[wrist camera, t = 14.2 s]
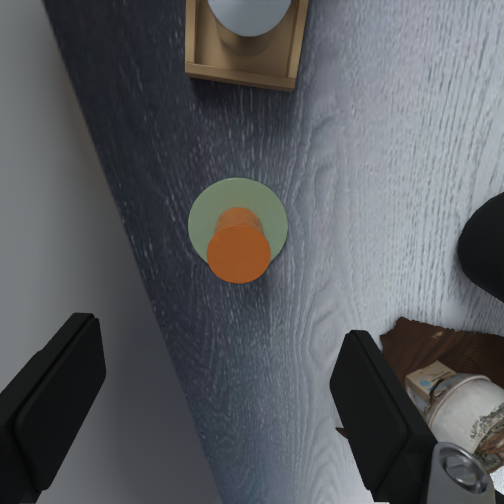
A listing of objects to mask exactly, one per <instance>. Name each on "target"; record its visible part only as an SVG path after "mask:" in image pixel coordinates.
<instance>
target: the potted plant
mask: <svg viewBox="0 0 504 504" xmlns="http://www.w3.org/2000/svg"><path fill="white" fill-rule="evenodd" d="M380 338H381V341H382V343H383V345H384V347H385V348H384V351H383V356H384V357H385V359H386V361H387V362H388V364H389V365H390V367H391V368H392V370H393V372H394V373H395V375H396V376H397V378H398V379H399V381H400V383H401V384H402V386H403V387H404V389H405V390H406V392H407V394H408V395H409V397H410V398H411V400H412V401H413V403H414V405H415V406H416V408H417V409H418V411H419V412H420V414H421V416H422V417H423V419H424V420H425V422H426V423H427V425H428V427H429V428H430V430H431V431H432V433H433V434H434V436H435V438H436V439H437V441H438V442H450V443H454V444H456V445H458V446H460V447H462V448H464V449H465V450H467V451H468V452H470V453H471V454H472V455H473V456H474V457H475V458H477V459H478V460H479V461H480V462H481V464H482V465H483V466H484V467H485V469H486V470H487V471H488V473H489V474H491V473H493V472H494V471H496V470H497V469H499V468H500V467H501V466H504V337H501V336H497V335H493V334H492V335H490V334H483V333H479V332H476V333H475V334H474V333H469V332H465V331H463V330H460V331H459V332H458V331H457V332H455V330H454V329H451V330H450V329H449V328H447V329H446V328H443V327H440V326H433V325H430V324H427V323H423V322H421V323H420V322H419V321H415V320H412V321H410V320H408V319H406V318H404V317H400V318H398V320H397V321H396V325H395V327H394V329H392V330H390V331H389V332H387V333H386V334H383V335H380ZM335 428H336V430H337V431H338V432H339V433H340V434H341V435H343V436H344V437H345V438H347V436H346V433H345V430H344V428H337V427H335Z"/></svg>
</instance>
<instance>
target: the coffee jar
mask: <svg viewBox="0 0 504 504" xmlns="http://www.w3.org/2000/svg"><path fill="white" fill-rule="evenodd" d="M458 255H459V260H460V263H461V267H462V270H463V272H464V274H465V275H466V276H467V277H468V278H469V279H470V280H471V281H472V282H473V283H474V284H476V285H477V286H479V287H480V288H482V289H483V290H485V291H486V292H488V293H489V294H491V295H492V296H494V297H495V298H497V299H499V300H500V301H502V302H503V303H504V192H503V193H501V194H499V195H497V196H495V197H493V198H491V199H490V200H488V201H487V202H486V203H485V204H484V205H482V206H481V207H480V208H479V209H478V210H476V212H475V213H474V214H473V215H472V217H471V218H470V219H469V221H468V222H467V223H466V224H465V227H464V229H463V231H462V234H461V236H460V238H459V246H458Z"/></svg>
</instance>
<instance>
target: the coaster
mask: <svg viewBox="0 0 504 504" xmlns="http://www.w3.org/2000/svg"><path fill="white" fill-rule="evenodd" d="M237 207H241V208H246V209H249V210H251V211H252V212H254V213H255V214H256V215H257V216H258V218H259V219H260V221H261V224H262V228H263V233H264V236H265V238H266V239H267V241H268V243H269V246H270V250H271V258H270V262H271V261H272V260H273V259H274V258H275V257H276V256H277V255H278V254H279V252H280V251H281V249H282V248H283V246H284V243H285V241H286V238H287V233H288V219H287V214H286V211H285V208H284V206H283V204H282V202H281V201H280V199H279V198H278V196H277V195H276V194H275V193H274V192H273V191H272V190H271V189H270V188H269V187H267V186H266V185H264V184H262V183H260V182H258V181H256V180H253V179H249V178H243V177H234V178H227V179H223V180H220V181H217V182H215V183H213V184H212V185H210V186H209V187H207V188H206V189H205V190H204V191H203V192H202V193H201V194H200V195H199V196H198V197H197V199H196V200H195V202H194V204H193V206H192V208H191V211H190V214H189V219H188V232H189V237H190V240H191V243H192V245H193V247H194V249H195V250H196V252H197V253H198V254H199V256H200V257H201V258H202V259H203V260H204V261H206V262H207V263H208V261H207V248H208V244H209V242H210V240H211V238H212V237H213V235H214V231H215V227H216V223H217V220H218V218H219V217H220V216H221V215H222V214H223V213H224V212H225V211H227V210H229V209H231V208H237Z"/></svg>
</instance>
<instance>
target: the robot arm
mask: <svg viewBox="0 0 504 504" xmlns="http://www.w3.org/2000/svg"><path fill="white" fill-rule="evenodd" d="M105 377H106V366H105V359H104V352H103V345H102V338H101V330H100V323H99V319H98V318H95V317H94V315H93V314H91V313H73V314H72V315H71V316H70V318H69V319H68V320H67V321H66V322H65V323H64V325H63V326H62V327H61V328H60V329H59V330H58V332H57V333H56V334H55V335H54V336H53V337H52V339H51V340H50V341H49V342H48V343H47V345H46V346H45V347H44V348H43V349H42V350H40V351H38V352H37V353H36V354H35V355H34V356H33V357H32V358H31V359H30V360H29V362H27V364H26V365H25V366H24V367H23V368H22V369H21V371H20V372H19V373H18V374H17V375H16V376H15V377H14V379H13V380H12V381H11V382H10V383H9V384H8V385H7V387H6V388H5V389H4V390H3V391H2V392H1V393H0V504H35V503H36V502H37V500H38V498H39V496H40V494H41V492H42V490H47V489H48V488H49V487H50V485H51V484H52V482H53V480H54V478H55V476H56V474H57V472H58V470H59V468H60V466H61V464H62V462H63V460H64V459H65V457H66V455H67V452H68V451H69V449H70V447H71V445H72V443H73V441H74V439H75V437H76V435H77V433H78V431H79V429H80V427H81V425H82V423H83V421H84V419H85V417H86V416H87V414H88V412H89V410H90V408H91V406H92V404H93V402H94V400H95V398H96V396H97V394H98V392H99V390H100V388H101V386H102V384H103V382H104V380H105ZM330 391H331V394H332V396H333V399H334V402H335V405H336V408H337V411H338V413H339V416H340V419H341V422H342V425H343V427H344V430H345V433H346V436H347V439H348V442H349V444H350V447H351V450H352V453H353V456H354V459H355V461H356V464H357V467H358V470H359V473H360V475H361V478H362V481H363V484H364V486H365V488H366V489H367V490H370V492H371V494H372V497H373V500H374V502H389V503H390V504H504V495H503V494H501V493H500V492H498V491H497V490H495V489H494V485H493V481H492V479H491V477H490V475H489V473H488V471H487V470H486V469H485V467H484V466H483V465H482V464H481V462H480V461H479V460H478V459H477V458H475V457H474V456H473V455H472V454H471V453H470V452H468V451H467V450H465V449H464V448H462V447H460V446H458V445H456V444H454V443H450V442H438V441H437V439H436V438H435V436H434V434H433V433H432V431H431V430H430V428H429V427H428V425H427V423H426V422H425V420H424V419H423V417H422V416H421V414H420V412H419V411H418V409H417V408H416V406H415V405H414V403H413V401H412V400H411V398H410V397H409V395H408V394H407V392H406V390H405V389H404V387H403V386H402V384H401V383H400V381H399V379H398V378H397V376H396V375H395V373H394V372H393V370H392V368H391V367H390V365H389V364H388V362H387V361H386V359H385V357H384V356H383V354H382V353H381V351H380V350H379V348H378V346H377V345H376V343H375V342H374V340H373V339H372V337H371V335H370V334H369V333H368V331H365V330H351V331H350V333H347V334H346V335H345V338H344V341H343V343H342V346H341V349H340V352H339V355H338V358H337V361H336V364H335V367H334V370H333V373H332V376H331V379H330Z"/></svg>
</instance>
